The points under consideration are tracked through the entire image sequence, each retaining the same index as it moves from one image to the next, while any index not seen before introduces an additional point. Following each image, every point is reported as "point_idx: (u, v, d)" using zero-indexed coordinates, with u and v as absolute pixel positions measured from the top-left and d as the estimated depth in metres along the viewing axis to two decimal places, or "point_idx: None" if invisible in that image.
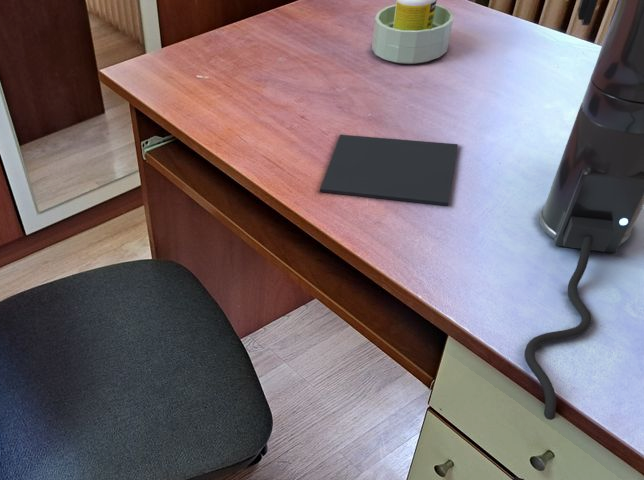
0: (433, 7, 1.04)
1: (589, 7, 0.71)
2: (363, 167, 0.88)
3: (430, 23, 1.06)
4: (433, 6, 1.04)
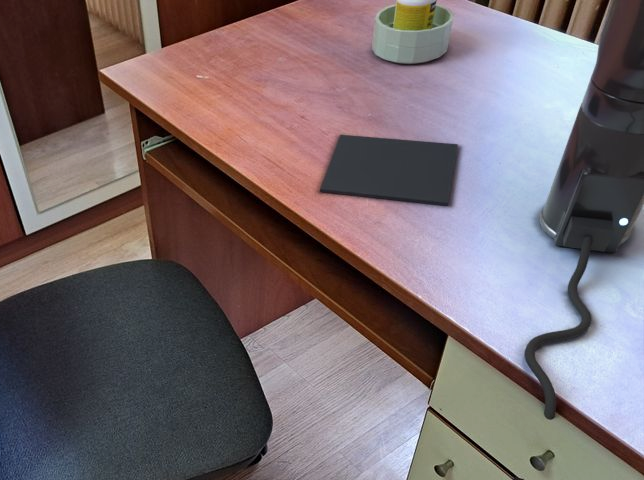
0: (433, 7, 1.04)
1: None
2: (363, 167, 0.88)
3: (430, 23, 1.06)
4: (433, 6, 1.04)
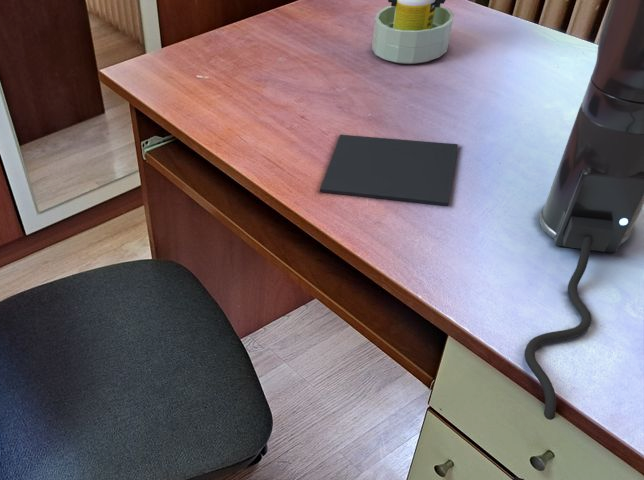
0: (433, 7, 1.04)
1: None
2: (363, 167, 0.88)
3: (430, 23, 1.06)
4: (433, 6, 1.04)
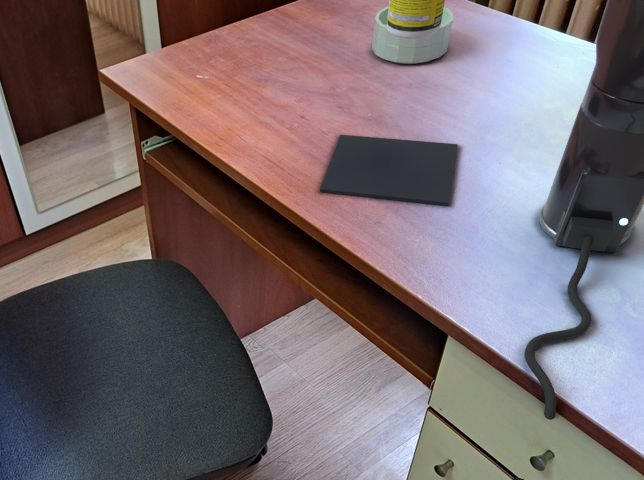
0: None
1: None
2: (363, 167, 0.88)
3: None
4: None
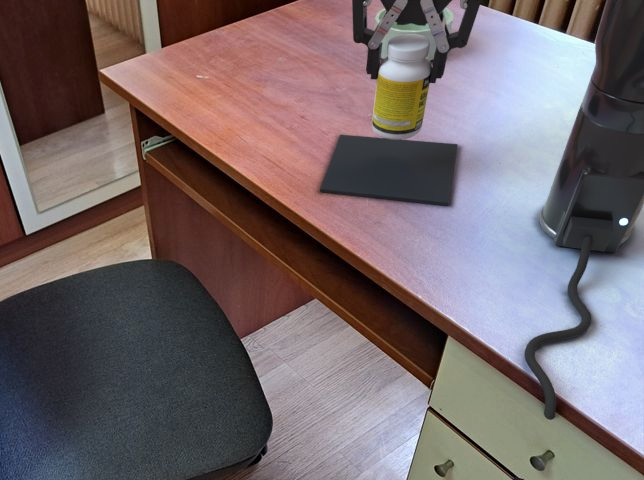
0: (427, 83, 0.77)
1: (373, 64, 0.78)
2: (363, 167, 0.88)
3: (423, 102, 0.79)
4: (427, 81, 0.77)
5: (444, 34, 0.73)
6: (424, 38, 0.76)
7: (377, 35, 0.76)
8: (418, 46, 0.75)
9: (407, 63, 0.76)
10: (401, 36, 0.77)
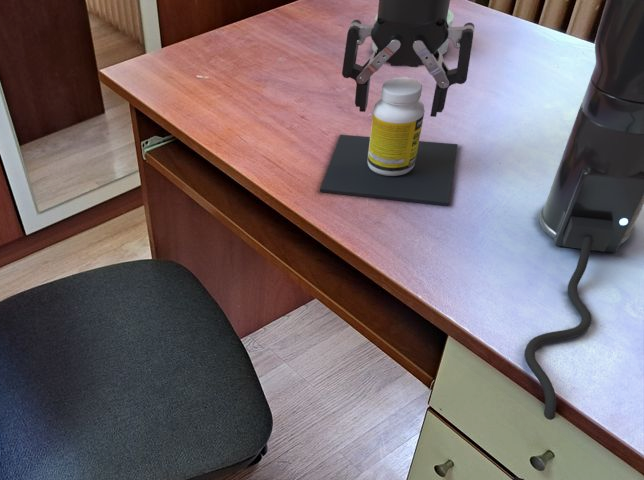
0: (419, 124, 0.81)
1: (361, 97, 0.81)
2: (363, 167, 0.88)
3: (416, 142, 0.83)
4: (419, 122, 0.81)
5: (442, 71, 0.76)
6: (417, 82, 0.80)
7: (366, 72, 0.79)
8: (410, 90, 0.79)
9: (400, 106, 0.80)
10: (395, 79, 0.81)
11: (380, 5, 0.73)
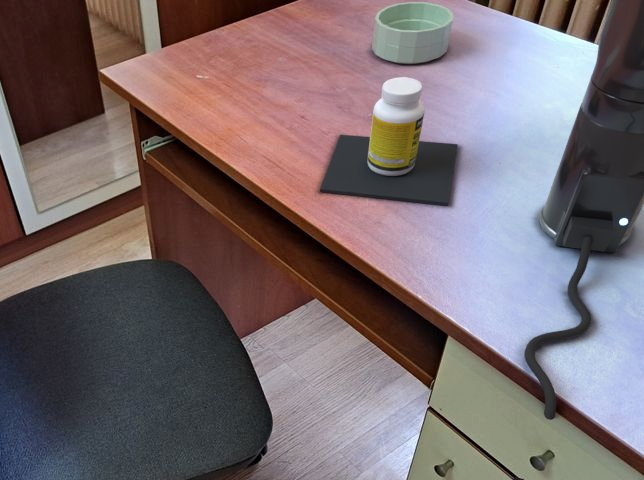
0: (419, 124, 0.81)
1: None
2: (363, 167, 0.88)
3: (416, 142, 0.83)
4: (419, 122, 0.81)
5: None
6: (417, 82, 0.80)
7: None
8: (410, 90, 0.79)
9: (400, 106, 0.80)
10: (395, 79, 0.81)
11: None
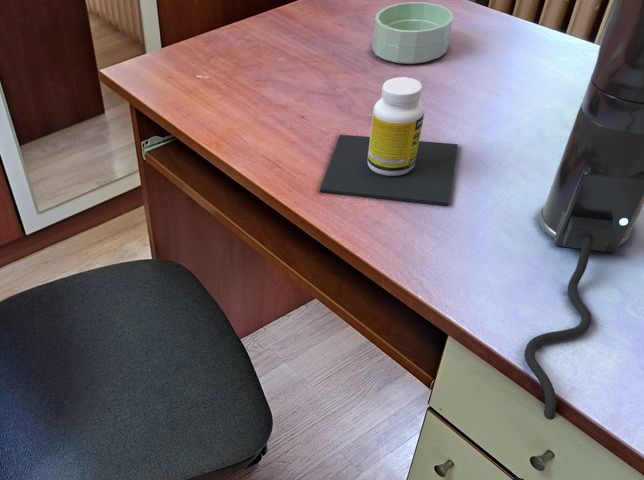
0: (419, 123, 0.81)
1: None
2: (363, 167, 0.88)
3: (416, 142, 0.83)
4: (419, 122, 0.81)
5: None
6: (417, 82, 0.80)
7: None
8: (410, 90, 0.79)
9: (400, 105, 0.80)
10: (395, 79, 0.81)
11: None
